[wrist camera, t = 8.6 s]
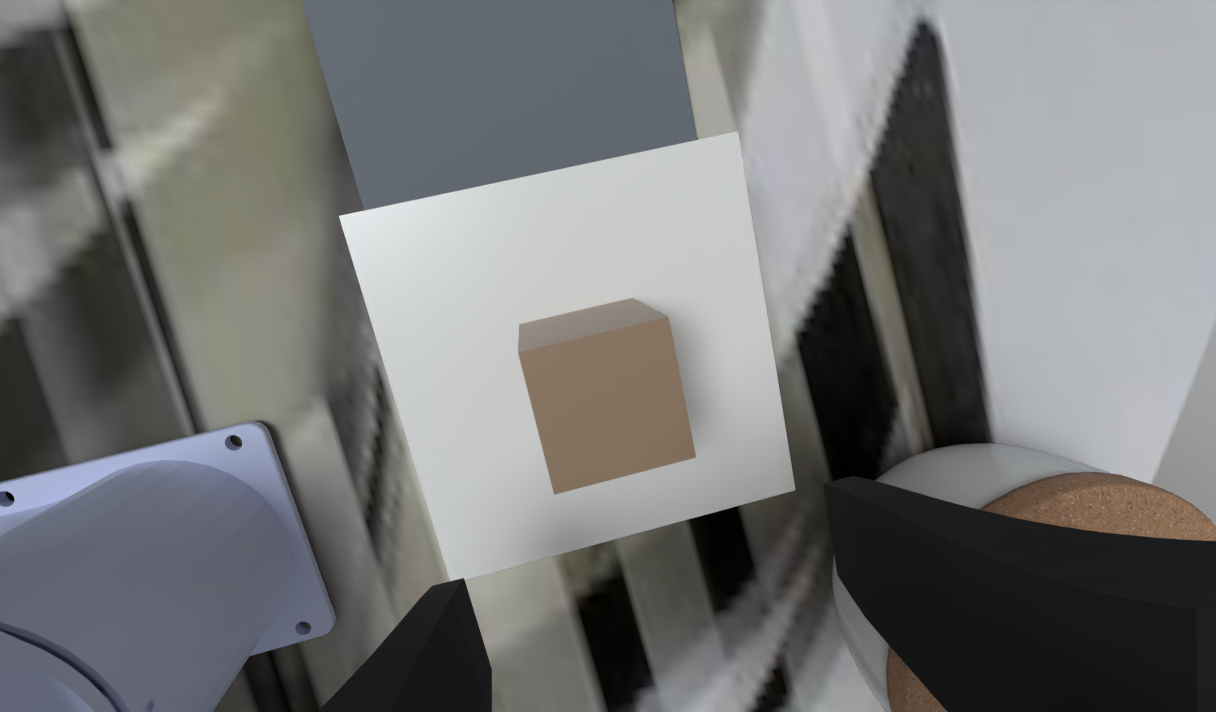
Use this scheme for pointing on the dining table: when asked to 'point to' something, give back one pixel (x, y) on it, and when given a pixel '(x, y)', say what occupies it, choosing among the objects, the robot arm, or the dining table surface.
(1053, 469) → the lidded jar
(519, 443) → the lid
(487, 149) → the mat
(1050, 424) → the dining table surface
